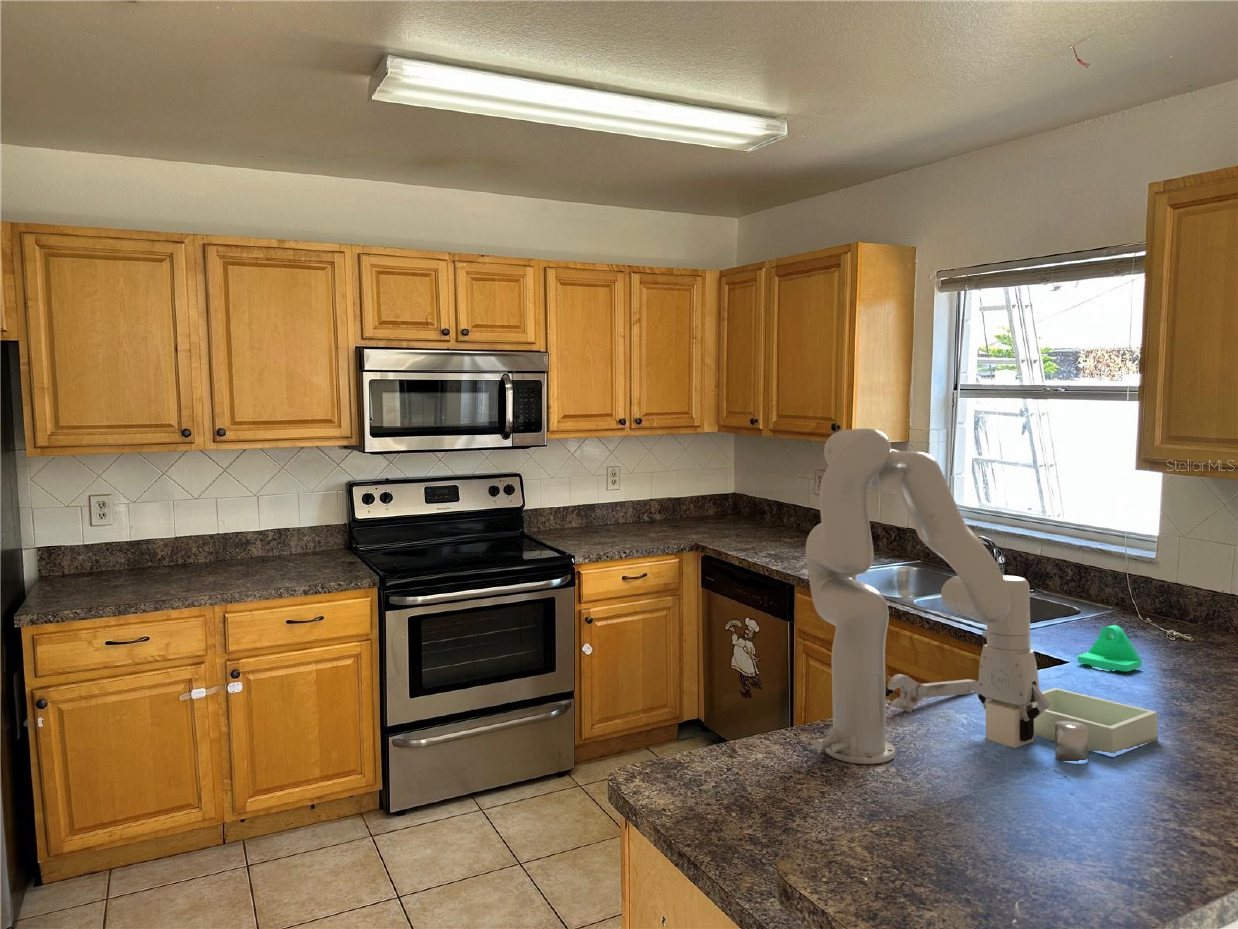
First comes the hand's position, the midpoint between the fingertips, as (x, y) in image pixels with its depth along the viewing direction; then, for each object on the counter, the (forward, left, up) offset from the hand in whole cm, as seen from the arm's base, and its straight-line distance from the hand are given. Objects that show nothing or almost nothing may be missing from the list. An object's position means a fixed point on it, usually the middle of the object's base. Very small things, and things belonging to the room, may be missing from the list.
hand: (1009, 734), depth 162 cm
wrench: (+8, +23, -2) cm, 24 cm away
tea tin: (0, -12, -1) cm, 12 cm away
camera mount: (+66, +16, -2) cm, 68 cm away
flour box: (0, 0, -1) cm, 1 cm away
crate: (+14, -6, -1) cm, 15 cm away
